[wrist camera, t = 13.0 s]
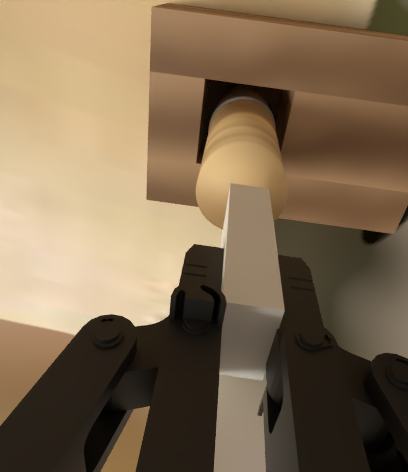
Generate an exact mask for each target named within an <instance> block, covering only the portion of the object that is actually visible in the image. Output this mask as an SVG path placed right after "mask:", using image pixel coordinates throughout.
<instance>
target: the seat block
mask: <svg viewBox="0 0 408 472" xmlns="http://www.w3.org/2000/svg"><path fill="white" fill-rule="evenodd" d="M209 79H210V80H218V81H225V82H232V83H240V84H247V85H255V86H262V87H269V88H277V89H284V90H283V95H282V100H281V104H280V109H279V113H278V118H277V122H276V135H277V139H278V144H279V148H280V153H281V157H282V161H283V166H284V170H285V175H286V179H287V183H288V199H287V202H286V205H285V207H284V209H283V211H282V213H281V214H280V215H279V217H278V218H283V219H290V220H298V221H305V222H312V223H319V224H326V225H334V226H341V227H349V228H355V229H362V230H370V231H377V232H384V233H391V234H394V233H395V231H396V229H397V227H398V225H399V223H400V220H401V218H402V216H403V214H404V212H405V210H406V208H407V206H408V35H401V34H394V33H385V32H379V31H371V30H364V29H356V28H349V27H341V26H334V25H326V24H319V23H311V22H304V21H296V20H289V19H281V18H274V17H266V16H258V15H251V14H243V13H236V12H228V11H221V10H213V9H206V8H198V7H191V6H183V5H176V4H168V3H166V4H162V5H158V6H153V7H152V15H151V52H150V89H149V126H148V164H147V200H153V201H160V202H167V203H175V204H182V205H189V206H196V207H199V206H198V204H197V200H196V184H197V180H198V176H199V171H200V167H201V163H202V159H203V154H204V150H205V146H206V142H207V139H203V131H204V122H205V113H206V104H207V95H208V85H209Z"/></svg>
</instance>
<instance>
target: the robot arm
mask: <svg viewBox="0 0 408 472" xmlns="http://www.w3.org/2000/svg"><path fill="white" fill-rule="evenodd" d="M312 281H313V280H312V275H311V271H310V269H309V267H308V266H307V265H306V263H305V262H304V261H303V260H302V259H301V258H296V257H289V256H282V255H278V254H277V246H276V239H275V230H274V222H273V215H272V207H271V199H270V191H269V188H262V187H255V186H247V185H240V184H233V183H230V189H229V195H228V202H227V208H226V214H225V220H224V226H223V232H222V238H221V247H220V248H218V247H211V246H203V245H196V244H194V245H193V246H192V247H191V248H190V249H189V250H188V251H187V252H186V255H185V259H184V264H183V268H182V274H181V278H180V282H179V286H178V287H177V288H175V289H174V291H173V293H172V295H171V303H170V315H169V316H168V317H166V318H165V319H164V320H162V321H160V322H158V323H155V324H151V325H145V326H137V327H135V326H134V325H133V324H132V322H131V321H130V320H128V319H126V318H124V317H123V316H118V315H112V314H111V315H103V316H99V317H97V318H94V319H92V320H90V321H89V322H88V323H87V324H85V325H84V326H83V327H82V328H81V330H80V331H79V332H78V333H77V334H76V336H75V337H74V338H73V339H72V340H71V342H70V343H69V344H68V345H67V347H66V348H65V349H64V350H63V351H62V352H61V354H60V355H59V356H58V357H57V359H56V360H55V361H54V362H53V363H52V365H51V366H50V367H49V368H48V369H47V371H46V372H45V373H44V374H43V375H42V377H41V378H40V379H39V380H38V382H37V383H36V384H35V385H34V386H33V387H32V389H31V390H30V391H29V392H28V394H27V395H26V396H25V397H24V398H23V399H22V401H21V402H20V403H19V404H18V406H17V407H16V408H15V409H14V410H13V411H12V413H11V414H10V415H9V416H8V417H7V419H6V420H5V421H4V422H3V424H2V425H1V426H0V472H100V471H101V469H102V467H103V466H104V464H105V462H106V460H107V458H108V456H109V454H110V452H111V451H112V449H113V447H114V445H115V443H116V441H117V440H118V438H119V436H120V434H121V432H122V430H123V428H124V426H125V425H126V423H127V421H128V419H129V417H130V415H131V413H132V412H133V409H136V408H142V407H147V406H150V410H149V414H148V418H147V423H146V427H145V432H144V436H143V441H142V445H141V450H140V455H139V459H138V463H137V468H136V472H213V470H214V453H215V437H216V420H217V404H218V387H219V374H222V375H228V376H235V377H242V378H249V379H256V380H263V376H264V374H265V371H266V379H267V385H266V388H265V391H264V394H263V397H262V400H261V403H260V406H259V410H258V415H259V416H262V413H263V412H264V433H265V455H266V456H265V457H266V472H408V359H407V358H405V357H402V356H399V355H397V354H391V353H383V354H380V355H377V356H376V357H375V358H374V359H373V360H372V362H371V361H369V360H367V359H364V358H361V357H359V356H356V355H354V354H352V353H350V352H348V351H346V350H344V349H342V348H340V347H339V346H338V345H337V342H336V340H335V338H334V336H333V335H332V334H331V333H330V332H329V331H328V330H327V329H326V328H324V326H323V322H322V318H321V314H320V310H319V305H318V301H317V297H316V292H315V288H314V284H313V283H312Z"/></svg>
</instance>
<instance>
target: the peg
mask: <svg viewBox="0 0 408 472" xmlns="http://www.w3.org/2000/svg"><path fill="white" fill-rule="evenodd" d="M230 183H233V184H240V185H247V186H255V187H262V188H269V191H270V199H271V207H272V215H273V222H274V221H275V220H276V219H277V218H278V217H279V215H280V214H281V213H282V211H283V209H284V207H285V205H286V202H287V199H288V183H287V179H286V175H285V170H284V166H283V161H282V157H281V153H280V148H279V144H278V139H277V135H276V125H275V120H274V117H273V114H272V112H271V109H270V107H269V104H268V103H267V101H266V100H265V99H264V98H263V97H262V96H261V95H260V94H259V93H258V92H257V91H256V90H255V89H254V88H252V87H249V86H237V87H234V88H232V89H230V90H229V91H228V92H227V93H226V94H225V95H224V96H223V97H222V98H221V99H220V100H219V102H218V103H217V105H216V107H215V109H214V112H213V114H212V116H211V119H210V123H209V129H208V137H207V142H206V146H205V150H204V154H203V159H202V163H201V167H200V171H199V176H198V180H197V184H196V200H197V204H198V206H199V208H200V210H201V212H202V214H203V215H204V216H205V217H206V218H207V219H208V220H209V221H210V222H211V223H212V224H214V225H215V226H217V227H219V228H221V229H223V226H224V220H225V214H226V208H227V202H228V195H229V189H230Z"/></svg>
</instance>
